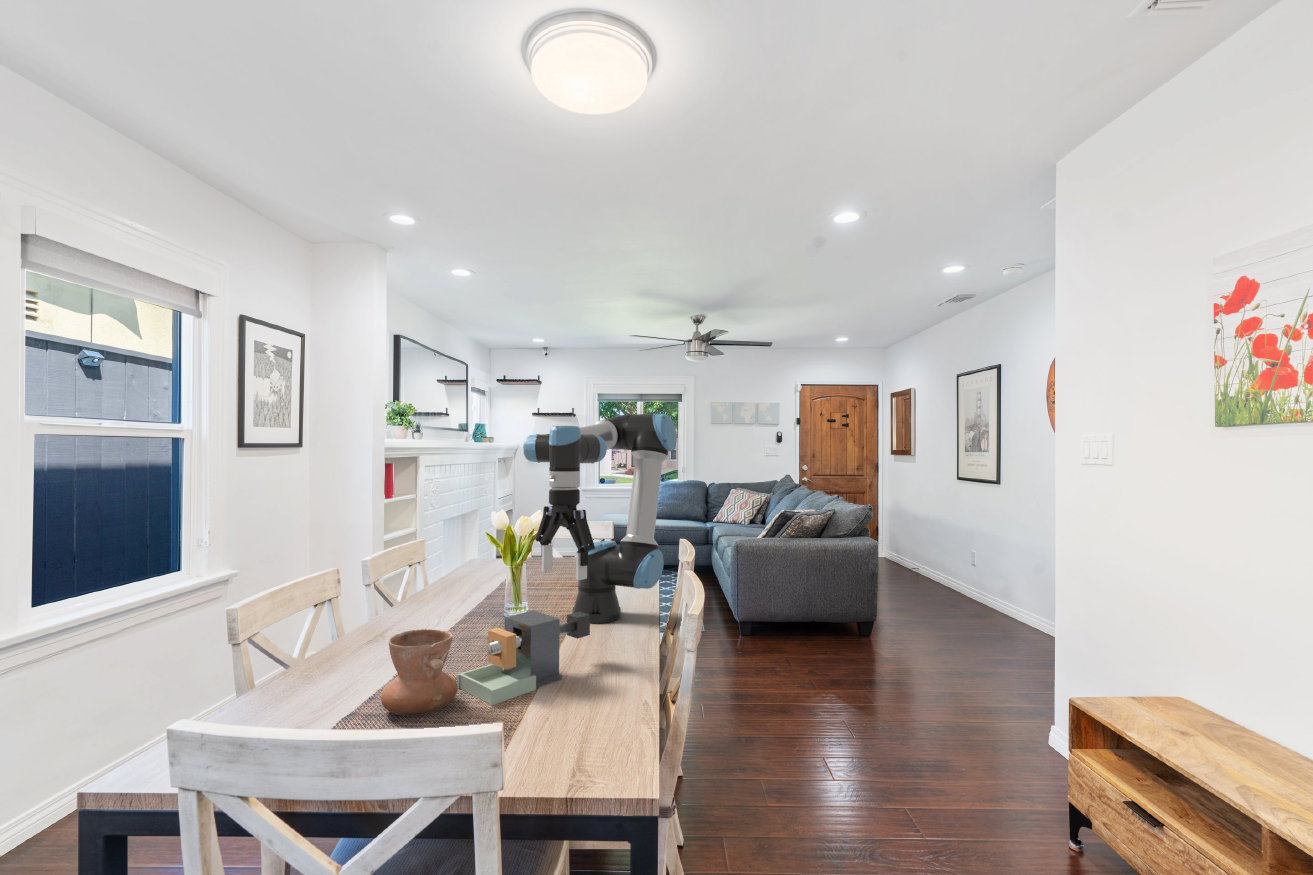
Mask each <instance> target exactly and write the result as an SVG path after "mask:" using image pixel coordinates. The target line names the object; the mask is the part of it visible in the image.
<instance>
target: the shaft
mask: <svg viewBox="0 0 1313 875" xmlns="http://www.w3.org/2000/svg"><path fill="white" fill-rule="evenodd" d="M590 634H591V623H590V614H586V613H583V612H576V613H572V612H571V613H569V614H566V622H564V623H561V624H560V636H563V635H566V636H569V637H572V638H575V639H581V638H585V637H587V636H590ZM521 645H522V635H519V636H516V648H517V647H521ZM486 651H487V654H488V653H489V654H490V655H493V654H496V653H500V652H502V643H499V642H493V643H489V644H488V643H487V646H486Z"/></svg>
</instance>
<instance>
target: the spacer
mask: <svg viewBox="0 0 1313 875" xmlns="http://www.w3.org/2000/svg"><path fill="white" fill-rule="evenodd" d="M487 631H488V632H487V633H488V634H487V635H488V636H487V645H488V644H489V643H493V642H499V643H502V652H500V653H496V654H493V655H490V654H489V653H488V652H487V662H488V663H490V664H494V665H496V666H499V667H501V668H503V670H504V669H506V670H507V669H510V668H513V667H516V634H514V633H511V632H508V631H506V630H504V629H503V628H500V627H495V628H492V629H488V630H487Z"/></svg>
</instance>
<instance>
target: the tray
mask: <svg viewBox="0 0 1313 875" xmlns="http://www.w3.org/2000/svg"><path fill="white" fill-rule="evenodd" d="M503 670H504V669H503V668H501V667H499V666H496V665H494V664H492V663H490V664H487V665H484V666H480V667H477V668H474V669H469V670H468V671H464V672H460V673H457V674H456V680H457V681H456V683H457V686H458V690H459V689H460V690H462V691H463V692H466V693H468V694H470V695H472V696H473V697H475V698H478V699H479V700H481V701H484V702H485V703H488V704H489V706H494V705H496V704H499V703H503V702H505V701H509V700H510V699H513V698H517V697H519V696H523V695H525V694H527V693H530V692H533V691H536V689H537V688H536V676H535V675H533V676H530V677H527V678H524V679H521V680H517V679H515V678H513V677H510V676H508V675H506V674H503V673H501V671H503Z"/></svg>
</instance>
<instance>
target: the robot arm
mask: <svg viewBox="0 0 1313 875" xmlns="http://www.w3.org/2000/svg"><path fill="white" fill-rule="evenodd" d="M677 435H678V434H677V430H676V425H675V423H674V421H673V419H672V418H671V417H670V416H669V415H667V414H664V413H641V414H640V413H637V414H636V413H635V414H630V413H629V414H621V415H617V416H613V417H609V418H605V419H601V420H600V419H599V420H598V421H596V422H595V423H594V424H590V425H587V426H582V427H581V426H580V427H579V426H577V425H553V426H552V427H550V430H549V433H545V434H539V433H536V434H530V435H528V436H527V437H526V438H525V439H524V441H523V444H522V448H523V449H522V450H523V456H524V457H525V459H526V460H527V461H529V462H531V463H549V471H548V472H549V478H548V479H549V481H548V482H549V484H548V487H550V488H551V489H549V490H548V504H549V505H547V506H543V510H542V511H543V512H542V518H541V520H540V524H539V527H538V530H537V532H536V537H535V542H538V543H539V544H540V546H541V547H540V548H541V552H540V553H541V572H542V573H545V572H550V571H551V572H552V571H553V555H554V554H553V550H554V548H553V547H554V545H553V539H554V537H555V535H556V533H557V532H558V530H559V529H560V527H563V528H565V529H566V530H568V531H569V534H570V535H571V538H572V540H573V542H574V544H575V546H576V548H577V551H576V553H575V562H576V563H575V567H576V568H575V580H576V581H577V595H576V598H575V601H574V606H573V607H572V609H571V614H572V613H576V612H583V613H586V614H590V624H605V623H610V622H614V621H617V620H619V619H620V618H621V617H622V609H621V608H622V607H621V606H620V603H619V598H618V596H617V593H616V586H618V587H625V588H633V589H637V590H640V589H647V590H649V589H651V588H654V587H655V586H656V584H657V583H658V582H659V580H660V579H661V576H662V573H663V571H664V563H665V561H664V553H663V552H662V551H661V550H660V549H659V544H658V542H657V541H656V539H655V532H656V522H657V513H658V506H659V495H660V487H661V478H662V470H663V468H662V467H663V463H664V462H665V461H667V459H668V458H669V452H672V451H674V450H675V449H676V446H677V442H678V441H677V440H678V437H677ZM608 450H622V451H631V452H630V454H631V456H632V457H633V458H634V469H633V476H632V485H631V492H630V500H629V510H628V518H627V525H626V527H627V528H626V534H625V536H624V537H623V538H622V539H621V540H620V543H619V546H617V542H616V541H615V540H602V541H594V540H593V536H592V534H591V530H590V526H589V523H588V520H587V511H586V509H579V510H578V509H577V506H578V505H579V504H580V501H581V500H580V499H581V490H580V489H578V488H579V487H581V468H580V467H581V464H591V465H592V464H595V463H599V462H601V461H602V460H604V458H605V457H606V455H607V451H608Z"/></svg>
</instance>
